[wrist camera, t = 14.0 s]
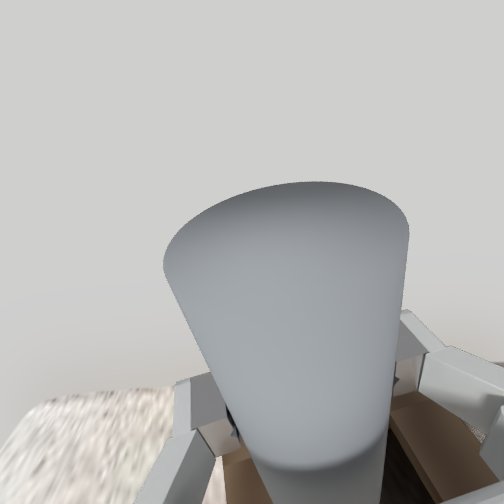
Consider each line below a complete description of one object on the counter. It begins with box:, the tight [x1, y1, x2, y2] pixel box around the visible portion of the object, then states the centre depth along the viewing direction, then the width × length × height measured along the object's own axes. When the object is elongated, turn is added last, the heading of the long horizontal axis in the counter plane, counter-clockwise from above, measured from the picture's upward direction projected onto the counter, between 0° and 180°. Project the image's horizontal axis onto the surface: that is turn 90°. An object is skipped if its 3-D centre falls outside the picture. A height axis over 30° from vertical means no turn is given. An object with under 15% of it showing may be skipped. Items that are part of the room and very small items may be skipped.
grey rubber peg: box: [163, 182, 409, 504], centre depth 9 cm, size 5×5×12 cm
